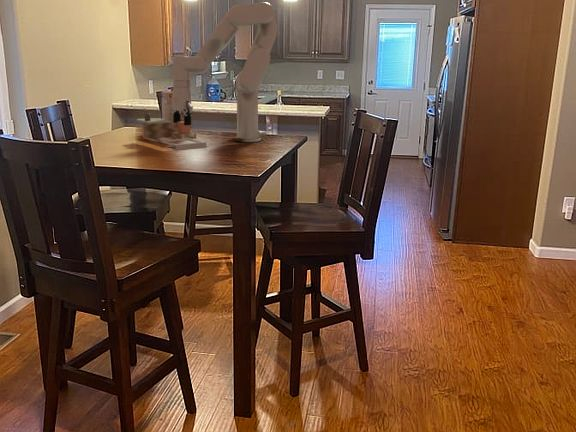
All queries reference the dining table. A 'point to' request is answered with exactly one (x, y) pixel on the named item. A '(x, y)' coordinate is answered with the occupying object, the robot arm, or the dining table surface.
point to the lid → (153, 119)
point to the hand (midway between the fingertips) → (182, 123)
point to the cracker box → (167, 105)
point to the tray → (185, 146)
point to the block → (183, 128)
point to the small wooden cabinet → (164, 132)
